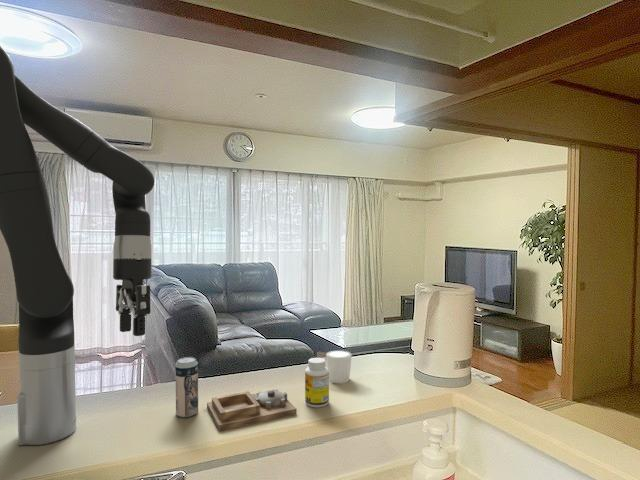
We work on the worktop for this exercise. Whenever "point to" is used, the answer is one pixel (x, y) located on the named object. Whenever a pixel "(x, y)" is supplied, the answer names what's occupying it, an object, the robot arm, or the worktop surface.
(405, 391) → the worktop surface
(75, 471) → the worktop surface
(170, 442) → the worktop surface
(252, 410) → the gear board
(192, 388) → the beer can
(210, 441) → the worktop surface
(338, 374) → the white cup
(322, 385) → the supplement bottle
